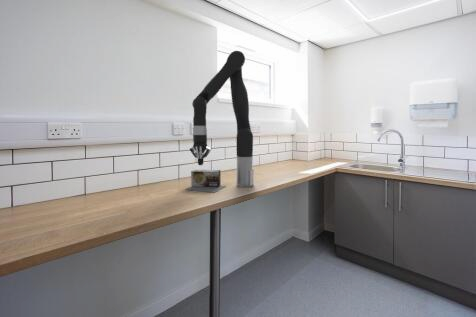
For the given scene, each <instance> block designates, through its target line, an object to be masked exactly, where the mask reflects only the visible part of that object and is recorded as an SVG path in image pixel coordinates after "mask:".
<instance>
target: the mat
mask: <svg viewBox="0 0 476 317" xmlns="http://www.w3.org/2000/svg"><path fill="white" fill-rule="evenodd" d="M224 188H227V187H226V185H220V186H219V187H191V186H190V187H188V188H186V189H185V190H186V191H196V192H204V193H216V192H219V191H220V190H222V189H224Z"/></svg>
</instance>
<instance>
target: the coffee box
mask: <svg viewBox="0 0 476 317" xmlns="http://www.w3.org/2000/svg"><path fill="white" fill-rule="evenodd" d="M190 175H191V176H190V178H191V179H190V182H191V183H190V184H191V186H190V187H219V186H222V185H221V175H222V174H221V169H192V170H191V171H190Z"/></svg>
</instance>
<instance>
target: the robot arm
mask: <svg viewBox="0 0 476 317" xmlns="http://www.w3.org/2000/svg"><path fill="white" fill-rule="evenodd" d="M245 61H246V57H245V54H244V53H243V52H242V51H241V50H234V51H232V52H230V53H229V55H228V56H227V58H226V61H225V63H224V64H223V66H222V67H221V68H220V70H219V71H218V72H217V73H216V74H215V75H214V76H213V77H212V78H211V79H210V80H209V82H208V83H207V84H205V86H204V88H203V89H202V90H201V92H199V94H198V95H197V96H196V97H195V98H194V99H193V101H192V103H191V104H192V107H193V116H192V117H193V118H192V119H193V122H192V125H193V126H192V127H193V128H192V138H193V140H192V142H193V146H192V147H191V148H189V151H190V153H191V154H192V155H193V157H194V158H197V165H198V166H203V165H204V159H205V158H207V157H208V155H209V154H210V153H211V151H212V148H210V147H208V130H207V106H208V103H209V102H210V101H211V100H212V99H214V97H215V96H216V95H217V94H218V92H220V91H221V89H222V88H223V86H224V85H225V84H226V82H227V81H228V79H229V81H230V94H231V96H230V97H231V103H232V104H231V105H232V108H233V112H234V116H235V121H236V186H237V187H241V188H248V187H249V188H251V187H252V186H254V171H255V170H254V168H253V164H254V163H253V158H254V157H253V153H254V151H253V150H254V135H253V133H252V130H251V124H250V118H249V117H250V114H249V112H250V107H249V105H250V104H249V95H248V91H247V88H246V85H245V83H244V78H243V67H244V64H245Z"/></svg>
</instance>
